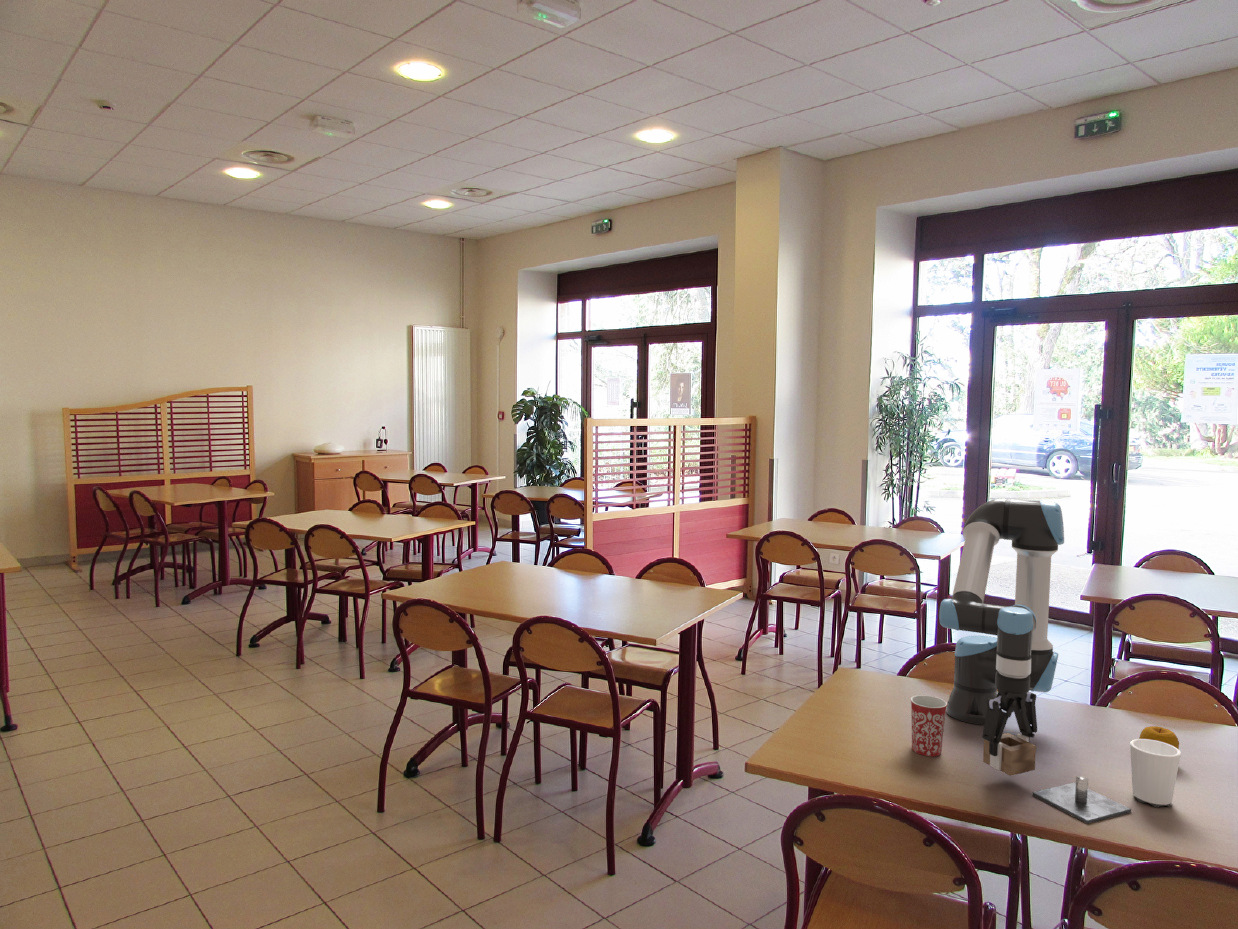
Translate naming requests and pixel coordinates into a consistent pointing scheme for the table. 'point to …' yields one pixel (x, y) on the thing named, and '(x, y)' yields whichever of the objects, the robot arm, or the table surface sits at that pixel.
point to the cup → (1154, 771)
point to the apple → (1160, 735)
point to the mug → (927, 724)
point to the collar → (1013, 755)
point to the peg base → (1081, 801)
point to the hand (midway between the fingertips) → (1008, 764)
